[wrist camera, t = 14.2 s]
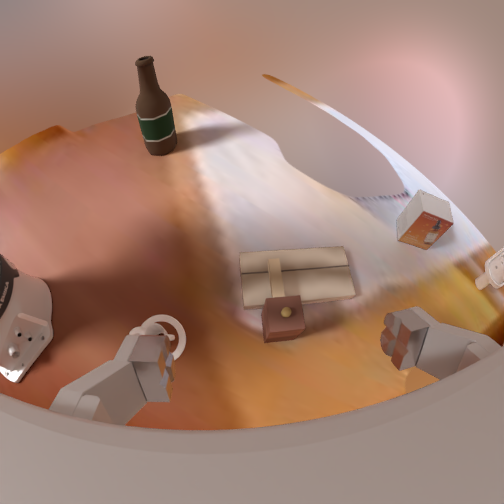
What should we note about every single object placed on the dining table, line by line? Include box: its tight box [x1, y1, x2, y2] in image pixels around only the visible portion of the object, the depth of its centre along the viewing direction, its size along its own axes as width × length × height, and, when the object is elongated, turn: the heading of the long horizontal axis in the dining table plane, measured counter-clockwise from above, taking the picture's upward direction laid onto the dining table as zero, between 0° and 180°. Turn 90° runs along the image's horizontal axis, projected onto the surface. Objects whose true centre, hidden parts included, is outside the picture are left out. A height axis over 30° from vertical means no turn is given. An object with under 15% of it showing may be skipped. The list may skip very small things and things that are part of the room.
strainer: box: [475, 247, 504, 290], centre depth 39 cm, size 7×7×15 cm
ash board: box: [240, 246, 356, 310], centre depth 44 cm, size 9×18×2 cm, turn 95°
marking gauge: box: [261, 258, 305, 343], centre depth 38 cm, size 12×4×9 cm, turn 5°
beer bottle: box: [135, 56, 177, 156], centre depth 49 cm, size 8×8×24 cm
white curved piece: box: [129, 314, 186, 360], centre depth 37 cm, size 9×8×4 cm
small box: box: [396, 190, 453, 250], centre depth 46 cm, size 8×6×10 cm
